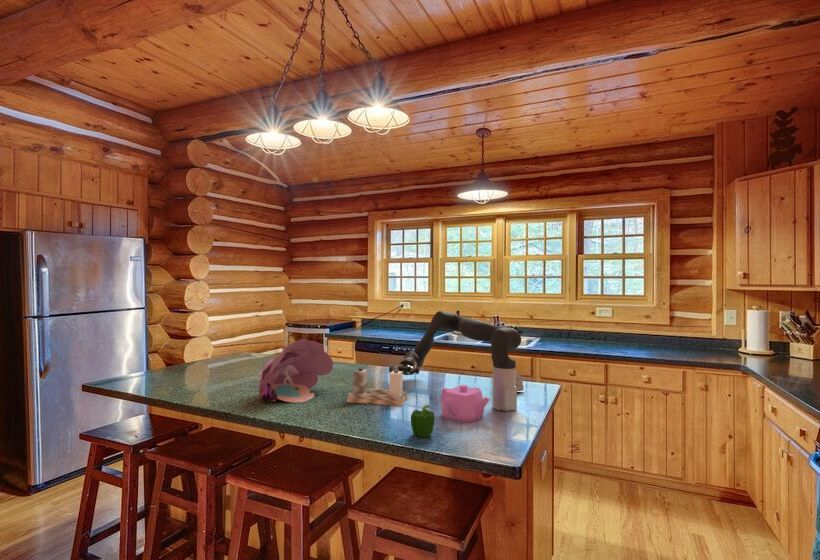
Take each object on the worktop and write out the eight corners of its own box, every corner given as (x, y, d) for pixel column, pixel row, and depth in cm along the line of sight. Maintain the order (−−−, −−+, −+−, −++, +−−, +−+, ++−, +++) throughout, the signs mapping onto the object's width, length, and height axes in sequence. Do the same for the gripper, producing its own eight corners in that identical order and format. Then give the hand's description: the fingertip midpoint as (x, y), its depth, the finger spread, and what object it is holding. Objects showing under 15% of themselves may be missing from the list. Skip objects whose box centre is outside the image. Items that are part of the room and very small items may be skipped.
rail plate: (407, 398, 192) (407, 367, 192) (402, 405, 180) (402, 373, 180) (355, 394, 196) (356, 365, 197) (347, 402, 185) (347, 370, 185)
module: (402, 396, 189) (402, 369, 190) (399, 399, 184) (399, 371, 184) (392, 395, 190) (392, 368, 190) (389, 399, 184) (389, 371, 184)
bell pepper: (414, 440, 141) (414, 410, 141) (407, 432, 149) (408, 403, 149) (438, 438, 143) (438, 408, 143) (430, 430, 151) (431, 401, 151)
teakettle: (478, 410, 176) (478, 380, 176) (490, 424, 159) (491, 390, 159) (437, 411, 174) (437, 380, 174) (445, 425, 157) (446, 391, 157)
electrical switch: (508, 394, 201) (507, 374, 202) (501, 392, 205) (500, 373, 206) (524, 392, 205) (523, 372, 206) (517, 391, 209) (516, 371, 210)
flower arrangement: (289, 421, 174) (298, 355, 170) (240, 404, 180) (248, 340, 176) (329, 391, 207) (338, 335, 203) (287, 378, 214) (295, 324, 209)
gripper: (394, 357, 215) (386, 363, 199) (422, 358, 212) (416, 364, 196) (394, 372, 215) (386, 379, 199) (422, 374, 212) (416, 381, 196)
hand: (401, 372), depth 198 cm, fingers open, 8 cm apart
